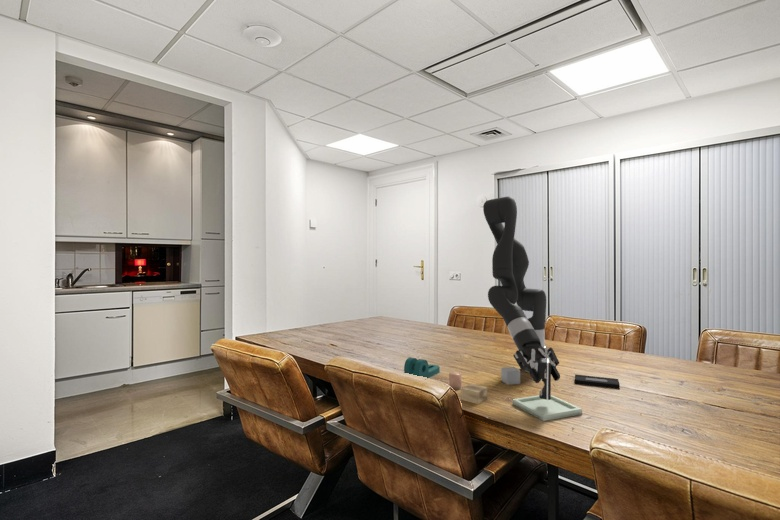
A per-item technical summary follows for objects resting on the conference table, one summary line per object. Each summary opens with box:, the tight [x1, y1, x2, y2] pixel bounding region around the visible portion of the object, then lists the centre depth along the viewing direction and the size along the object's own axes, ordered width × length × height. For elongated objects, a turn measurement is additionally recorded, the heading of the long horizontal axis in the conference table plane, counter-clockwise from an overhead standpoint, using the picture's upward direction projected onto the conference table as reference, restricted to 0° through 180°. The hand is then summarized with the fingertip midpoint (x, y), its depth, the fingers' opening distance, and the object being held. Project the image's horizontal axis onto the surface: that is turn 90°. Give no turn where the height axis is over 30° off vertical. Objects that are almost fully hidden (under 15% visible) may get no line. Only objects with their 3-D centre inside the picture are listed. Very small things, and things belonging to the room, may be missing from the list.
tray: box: [512, 394, 583, 422], centre depth 123 cm, size 14×14×2 cm
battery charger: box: [537, 358, 552, 400], centre depth 123 cm, size 7×4×11 cm, turn 159°
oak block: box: [461, 383, 488, 405], centre depth 132 cm, size 6×6×4 cm
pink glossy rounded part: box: [448, 371, 463, 390], centre depth 144 cm, size 4×4×5 cm
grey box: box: [500, 366, 521, 386], centre depth 150 cm, size 5×5×5 cm
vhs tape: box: [574, 373, 621, 390], centre depth 148 cm, size 8×14×2 cm, turn 64°
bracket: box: [403, 356, 441, 379], centre depth 160 cm, size 18×7×8 cm, turn 144°
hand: (548, 380), depth 122 cm, fingers closed on battery charger, 6 cm apart
